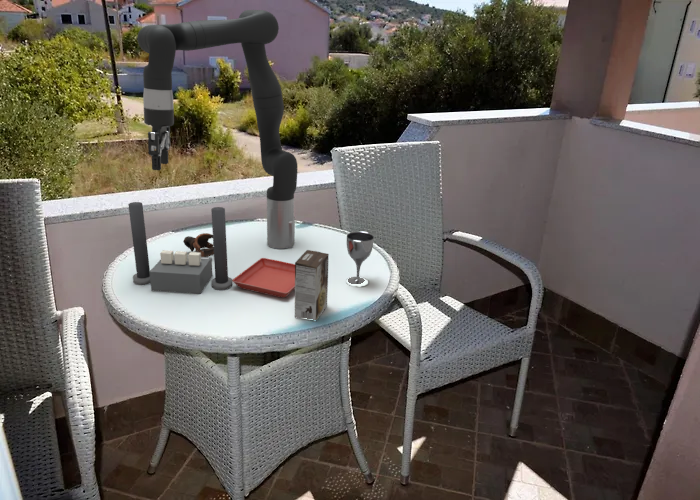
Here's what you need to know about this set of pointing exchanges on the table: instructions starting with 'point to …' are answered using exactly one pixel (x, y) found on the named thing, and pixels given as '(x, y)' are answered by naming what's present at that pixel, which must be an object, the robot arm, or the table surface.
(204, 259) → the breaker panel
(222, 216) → the post
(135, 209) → the post
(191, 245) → the brown curved piece
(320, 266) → the coffee box
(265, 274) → the plant saucer
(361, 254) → the wine glass
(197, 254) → the paddles
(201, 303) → the table surface
